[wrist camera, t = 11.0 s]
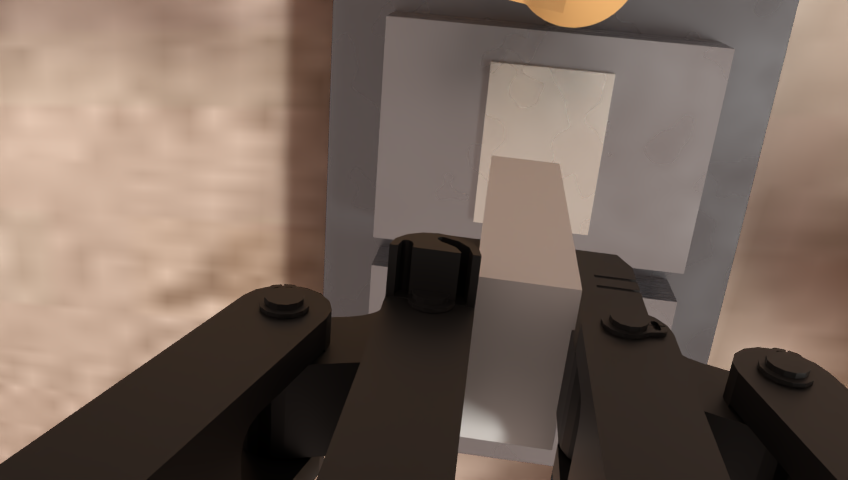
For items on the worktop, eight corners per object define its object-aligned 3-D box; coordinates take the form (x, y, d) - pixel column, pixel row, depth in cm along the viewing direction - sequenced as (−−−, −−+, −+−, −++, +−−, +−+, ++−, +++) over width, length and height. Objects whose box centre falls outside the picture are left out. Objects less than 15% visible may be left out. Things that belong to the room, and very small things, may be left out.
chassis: (351, -129, 24) (310, -147, 20) (799, -94, 23) (872, -103, 18) (330, 397, 32) (296, 478, 27) (669, 443, 31) (696, 536, 26)
